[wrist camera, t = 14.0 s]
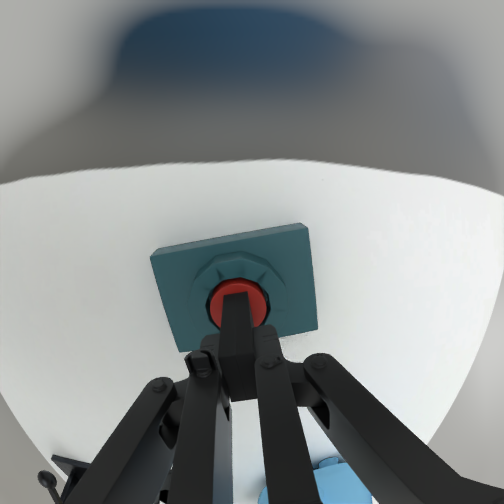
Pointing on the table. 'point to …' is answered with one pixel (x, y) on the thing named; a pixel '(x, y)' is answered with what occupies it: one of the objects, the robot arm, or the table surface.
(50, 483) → the switch lever
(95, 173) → the table surface
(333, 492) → the teapot
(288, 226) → the button box
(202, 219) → the table surface
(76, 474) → the ball knob lever stand
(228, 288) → the stop button
